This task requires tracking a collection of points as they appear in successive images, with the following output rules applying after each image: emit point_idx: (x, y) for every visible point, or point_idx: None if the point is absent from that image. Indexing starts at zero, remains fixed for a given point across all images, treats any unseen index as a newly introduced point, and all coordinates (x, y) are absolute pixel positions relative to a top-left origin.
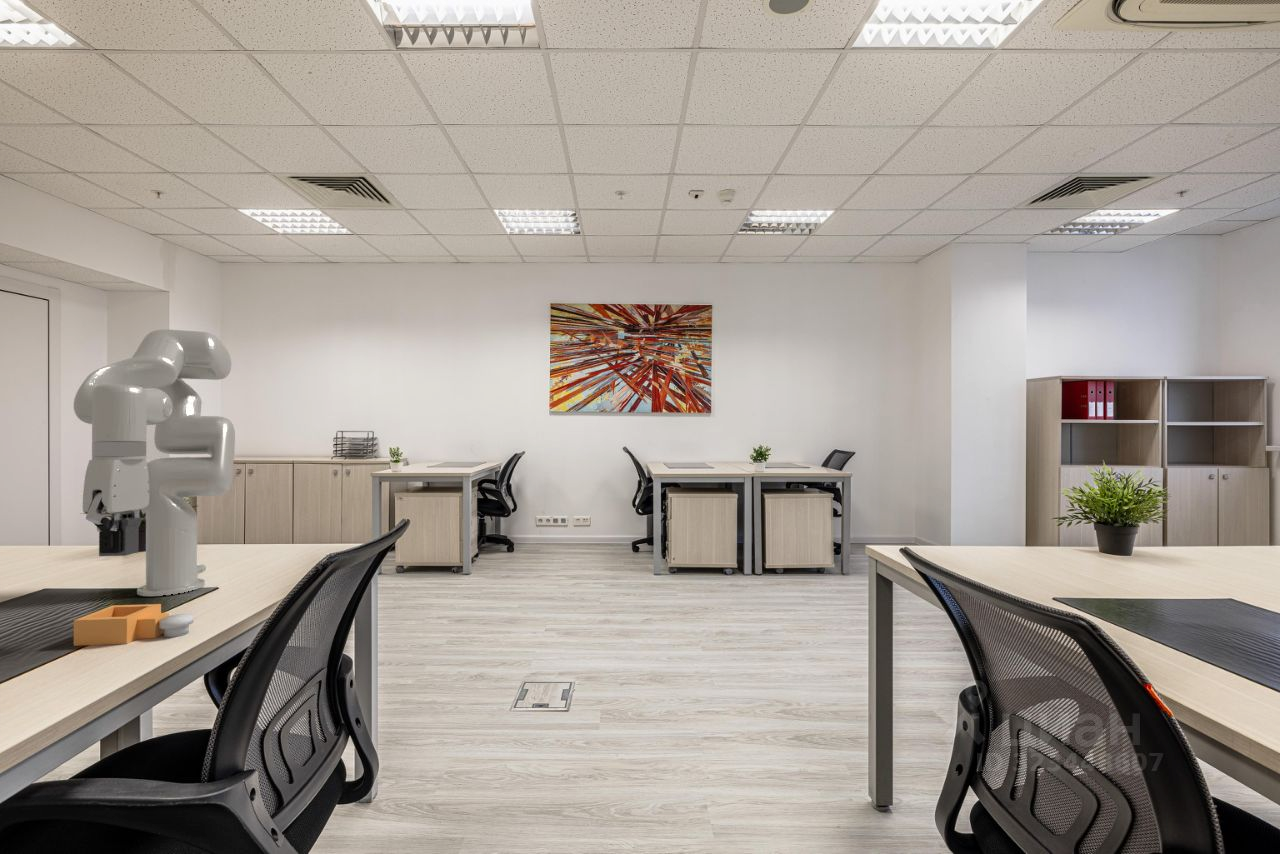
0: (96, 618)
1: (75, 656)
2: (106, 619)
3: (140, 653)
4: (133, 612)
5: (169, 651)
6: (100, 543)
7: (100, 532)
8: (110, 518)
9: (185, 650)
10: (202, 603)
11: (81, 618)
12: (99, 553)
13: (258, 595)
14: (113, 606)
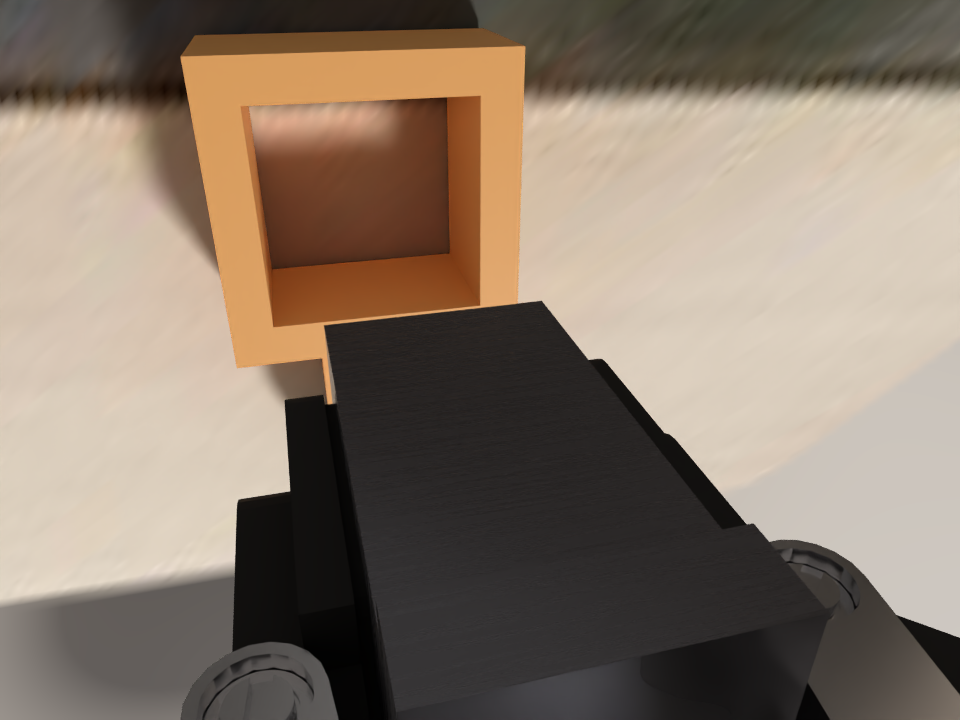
0: (227, 187)
1: (58, 177)
2: (219, 260)
3: (137, 443)
4: (470, 205)
5: (172, 530)
6: (293, 474)
7: (300, 605)
8: (741, 668)
9: (188, 574)
10: (872, 189)
11: (222, 79)
12: (327, 346)
13: (916, 366)
14: (499, 75)
